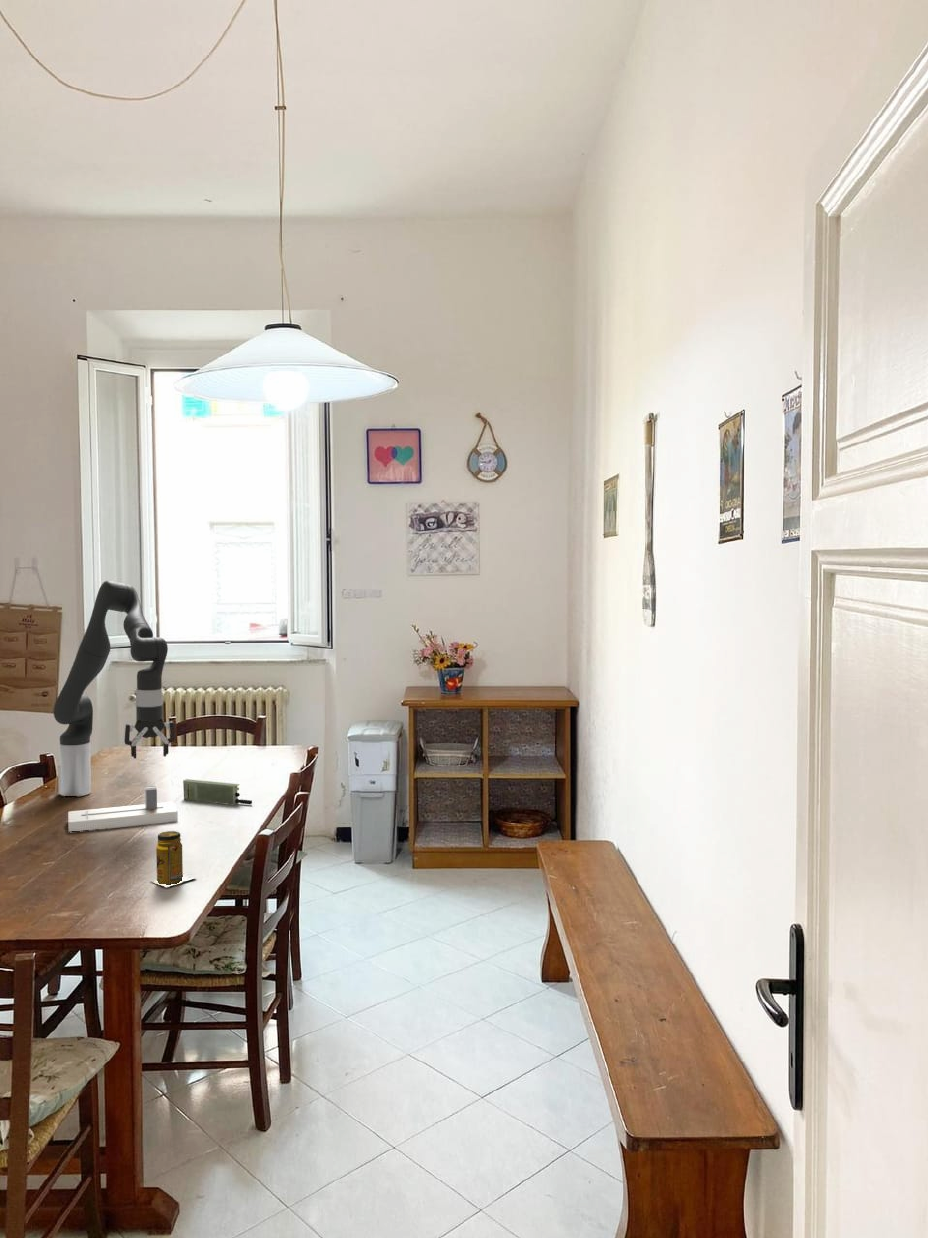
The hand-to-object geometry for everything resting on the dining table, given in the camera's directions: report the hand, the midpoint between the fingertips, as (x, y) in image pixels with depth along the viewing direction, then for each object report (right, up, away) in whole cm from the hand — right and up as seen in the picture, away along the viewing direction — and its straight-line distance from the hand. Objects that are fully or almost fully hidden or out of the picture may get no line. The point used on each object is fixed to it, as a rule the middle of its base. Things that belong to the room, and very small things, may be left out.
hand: (150, 757), depth 272 cm
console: (-7, -19, -2) cm, 20 cm away
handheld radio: (+15, -18, +20) cm, 31 cm away
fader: (0, -15, +1) cm, 15 cm away
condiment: (+24, -23, -51) cm, 61 cm away
